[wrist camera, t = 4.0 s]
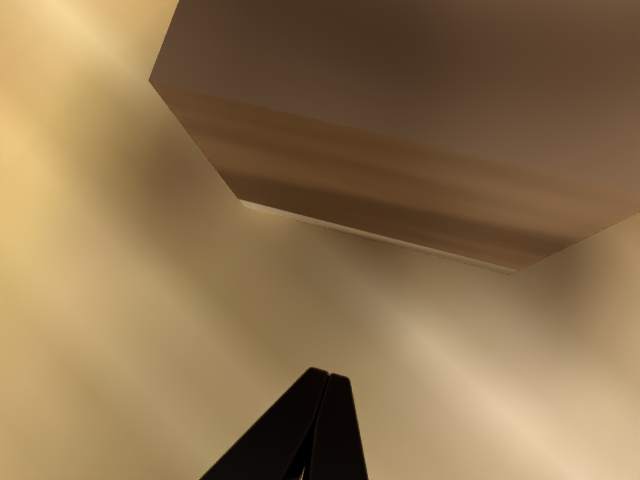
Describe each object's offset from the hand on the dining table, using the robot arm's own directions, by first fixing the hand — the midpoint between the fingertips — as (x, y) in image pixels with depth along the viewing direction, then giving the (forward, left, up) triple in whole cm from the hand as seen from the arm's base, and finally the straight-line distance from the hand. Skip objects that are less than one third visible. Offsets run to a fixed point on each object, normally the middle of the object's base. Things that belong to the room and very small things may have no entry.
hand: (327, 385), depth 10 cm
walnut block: (+5, -5, -7) cm, 10 cm away
